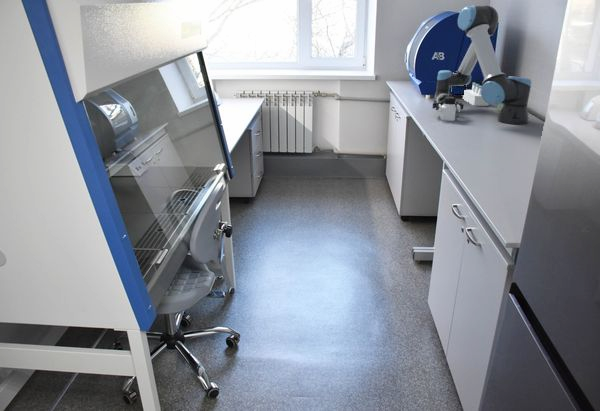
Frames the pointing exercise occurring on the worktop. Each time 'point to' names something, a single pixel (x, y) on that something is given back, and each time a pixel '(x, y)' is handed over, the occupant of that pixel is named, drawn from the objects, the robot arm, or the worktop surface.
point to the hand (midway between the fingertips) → (450, 109)
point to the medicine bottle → (448, 109)
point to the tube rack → (474, 96)
